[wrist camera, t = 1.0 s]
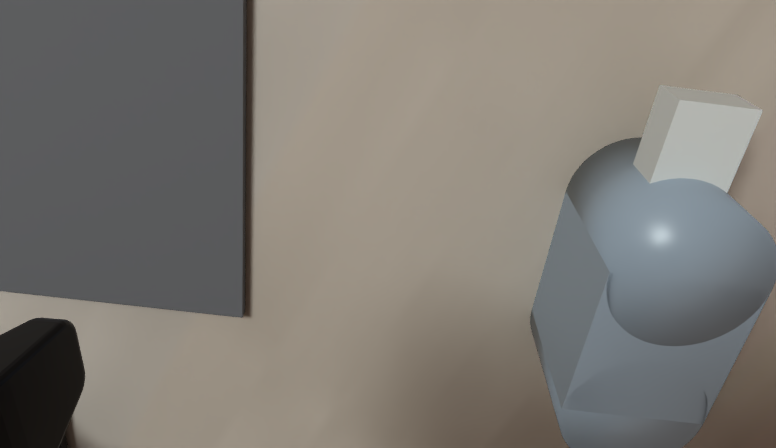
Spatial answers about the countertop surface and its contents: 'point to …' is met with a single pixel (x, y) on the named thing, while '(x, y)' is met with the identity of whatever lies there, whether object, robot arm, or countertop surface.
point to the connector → (653, 277)
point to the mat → (124, 152)
